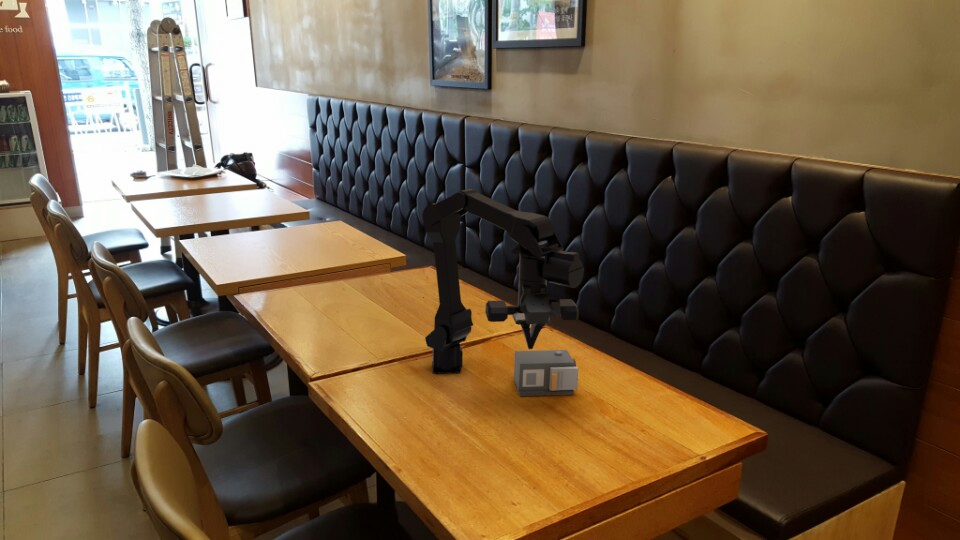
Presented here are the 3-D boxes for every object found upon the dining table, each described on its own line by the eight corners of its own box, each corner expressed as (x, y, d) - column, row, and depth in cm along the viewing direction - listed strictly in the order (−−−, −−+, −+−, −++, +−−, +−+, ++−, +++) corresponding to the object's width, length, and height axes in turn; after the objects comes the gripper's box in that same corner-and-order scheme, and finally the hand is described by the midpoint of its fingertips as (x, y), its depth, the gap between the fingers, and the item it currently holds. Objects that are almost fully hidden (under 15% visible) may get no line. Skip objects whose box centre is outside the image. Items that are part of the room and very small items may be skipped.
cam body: (519, 396, 146) (520, 363, 144) (513, 379, 154) (514, 348, 152) (579, 394, 148) (582, 362, 145) (571, 377, 156) (572, 347, 153)
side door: (551, 392, 145) (552, 371, 144) (549, 388, 147) (550, 367, 146) (578, 391, 146) (579, 370, 145) (575, 387, 148) (577, 366, 147)
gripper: (492, 290, 129) (490, 365, 133) (587, 288, 131) (583, 362, 135) (485, 274, 140) (484, 344, 144) (574, 272, 142) (570, 341, 146)
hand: (530, 348), depth 142 cm, fingers closed
